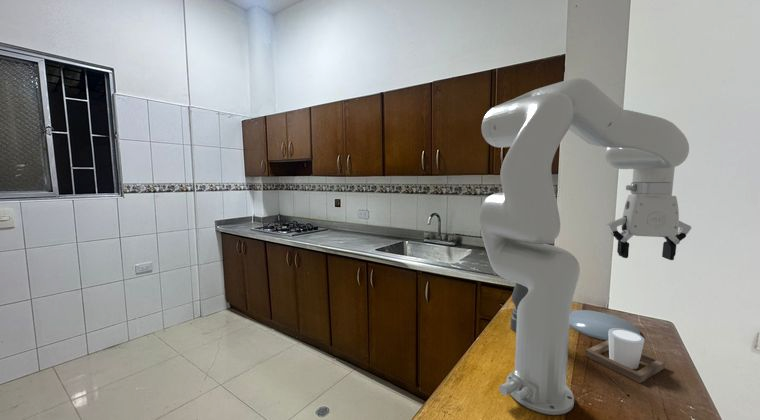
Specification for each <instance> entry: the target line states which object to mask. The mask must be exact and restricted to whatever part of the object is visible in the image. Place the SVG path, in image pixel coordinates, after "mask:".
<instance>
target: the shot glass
mask: <svg viewBox="0 0 760 420" xmlns="http://www.w3.org/2000/svg"><path fill="white" fill-rule="evenodd" d="M608 336H609V350H608V354H609V355H608V356H609V357H608V358H609V359H611V360H613V361H616V362H618V363H620V364H622V365H624V366H626V367H628V368H630V369H632V370H636V369H638V368H639V365H640V361H641V360H640V358H641V353H642V352H643V349H644V344H645V338H644V337H643V336H642V335H641V334H640V335H639V334H637V333H635V332H632V331H629V330H625V329H619V328H612V329H609V331H608Z"/></svg>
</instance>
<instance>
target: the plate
mask: <svg viewBox="0 0 760 420" xmlns="http://www.w3.org/2000/svg"><path fill="white" fill-rule="evenodd" d="M569 328H571V329H573V330H574V331H577V332H579V333H580V334H583V335H585V336H588V337H591V338H594V339H597V340H602V341H604V342H605V341H607V340H609V336H608V331H609V329H612V328H619V329H625V330H629V331H632V332H635V333H637V334H639V335H641V332H640V329H639V328H638V327H637V326H636V325H634V324H633V323H631V322H630V321H628V320H627V319H623V318H622V317H618V316H616V315H613V314H609V313H606V312H601V311H596V310H590V309H589V310H588V309H578V310H571V314H570V327H569Z"/></svg>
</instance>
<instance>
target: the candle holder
mask: <svg viewBox="0 0 760 420" xmlns="http://www.w3.org/2000/svg"><path fill="white" fill-rule="evenodd" d="M527 293H528V288H527V287H525V286H523V285H521V284H518V283H515V285H514V287H513V291H512V294H511V301H512V302H513V304H514V308H513V310H512V311H511V315H510V329H511V330H512V331H514V332H515V333H516V327H517V309H518V305H519V303H520V301H521V300H522V299H523V298H524V297H525V296H526V295H527Z"/></svg>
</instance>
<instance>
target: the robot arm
mask: <svg viewBox="0 0 760 420" xmlns="http://www.w3.org/2000/svg"><path fill="white" fill-rule="evenodd" d="M480 127H481V134H482V138H484V140H485V142H487V144H489V145H490V146H492V147H494V148H500V149H501V148H509V149H508V151H507V153H506V154H505V157H504V158H503V161H502V164H501V168H500V183H501V188H502V192H496V193H493V194H491V195H488V196H487V197H486V198H485V199H484V200H483V201H482V203H481V205H480V208H479V213H478V225H479V230H480V233H481V237H482V240H483V243H484V248H485V250H486V254H487V258H488V260H489V261H488V262H489V263H490V266H491V268H492V270H493V271H494V273H495V274H497V276H499V277H501V278H503V279H506V280H508V281H510V282H513V283H515V284H516V283H518V284H521V285H523V286H525V287H527V288H528V293H527V295H526V296H525V297H524V298H523V299H522V300H521V301H520V303H519V305H518V309H517V327H516V332H515V348H514V349H515V353H514V354H515V356H514V370H513V371H511V372H510V373H508V375H507V376H506V381H505V383H502V384H499V387H498V390H499V393H501V395H502V396H505V397H506V396H508V395H510V396H511V397H512V398H513V399H514V400H515V401H516V402H518V403H519V404H520V405H522V406H524V407H525V408H527V409H529V410H531V411H535V412H537V413H541V414H544V415H550V416H551V415H553V416H555V415H556V416H558V415H564V414H567V413H568V412H570V411H571V410H572V409H573V408H574V404H575V397H574V393H573V392H572V390H571V389H570V388H569V386H568V385H567V371H568V358H569V357H568V356H569V343H570V342H569V341H570V328H571V327H570V314H571V311H572V305H573V299H574V296H575V291H576V288H577V285H578V281H579V278H580V265H579V264H580V263H579V261H578V259H577V257H575V255H573V253H571V252H570V251H568V250H566V249H564V248H562V247H559V246H556V245H552V244H550V243H552V242H554V241H555V240H556V239H557V238H558V237H559V235H560V233H561V232H560V231H561V217H560V213H559V208H558V202H557V197H556V192H555V187H554V183H553V175H552V164H553V162H554V158H555V155H556V152H557V150H558V148H559V145H560V144H561V142H562V141H563V139H564V137H565V136H566V134H567V132H568V131H571V133H573V134H575V135H576V136H578V137H579V138H580V139H582V140H583V141H584V142H586V143H587V144H589V145H591V146H594V147H595V146H596V147H601V148H602V147H603V148H606V149H605V160H606V162H607V163H608V165H609V166H611V167H612V168H615V169H619V170H633V172H632V182H631V183H630V184H627V185H626V186H625V190H626V191H629V192H630V194H628V195H627V199H626V201H625V204H624V208H623V213H622V217H621V218H619V219H616V220H613V221H610V222H608V223H607V224H606V225H607V228H608V229H609V230H608V231H610V234H611V235H612V236H613V237H614V238H615V240H617V249H616V250H617V251H616V252H617V254H618V256H619V257H622V258H624V259H628V258H629V249H630V243H629V242H628V241H629V240H630V239H631V238H632V237H633V236H636V237H651V238H652V237H653V238H654V237H655V238H663V239H664V240H665V241H664V242H663V243H662V251H661V252H662V253H661V257H662V258H664V259H666V260H668V261H674V260H675V257H676V253H677V245H679V244H680V243H681V241H682V240H684V239H685V238H686V237H687V235H688V233H690V231H691V229H692V226H691V225H689V224H687V223H684V222H683V221H681V220H680V217H679V216H680V213H679V211H680V210H679V203H678V199H677V198H678V197H677V196H676V195H673V190H674V189H673V187H674V177H675V168H676V167H679V166H680V165H682V164H683V163H684V162H685V161H686V159H687V158H688V156H689V153H690V146H689V141H688V139H687V136H685V134H684V133H683V131H682V130H681V129H680V128H679V127H678V126H676V124H675V123H673V122H672V121H670V120H667V119H666V118H663V117H658V116H657V115H656V116H655V115H651V114H647V113H642V112H640V111H639V112H638V111H634V110H630V109H629V110H628V109H624V108H622V107H621V106H619V105H618V103H616V102H615V101H614V99H612V98H611V97H609V96H608V95H607V94H606V93H605V92H604V91H603V90H602V89H600V88H599V87H598V86H597V85H596V84H594V83H593V82H592V81H590V80H589V79H586V78H580V77H576V78H571V79H567V80H563V81H559V82H556V83H552V84H549V85H546V86H543V87H539V88H536V89H534V90H531V91H529V92H526V93H524V94H521V95H519V96H516V97H515V98H513V99H510V100H507V101H505V102H503V103H500V104H498V105H495V106H494V107H491V108H490V109H489V110H488V111H487V112H486V114H485V115H484V116H483V118H482V123H481V126H480ZM620 226H621V232H620V231H618V227H620Z"/></svg>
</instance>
